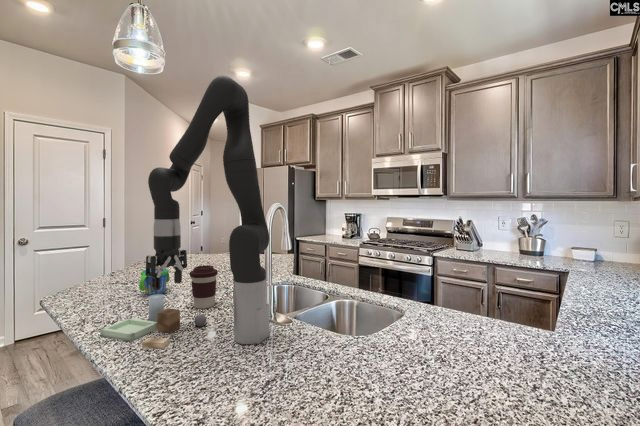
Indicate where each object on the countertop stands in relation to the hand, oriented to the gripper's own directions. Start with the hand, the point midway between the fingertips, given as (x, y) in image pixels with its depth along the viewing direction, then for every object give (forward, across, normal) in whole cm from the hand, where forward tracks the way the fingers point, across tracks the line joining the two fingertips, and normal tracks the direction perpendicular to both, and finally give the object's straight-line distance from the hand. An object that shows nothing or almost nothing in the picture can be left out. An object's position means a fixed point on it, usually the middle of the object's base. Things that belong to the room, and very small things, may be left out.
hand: (167, 286), depth 102 cm
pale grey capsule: (+14, +6, +11) cm, 19 cm away
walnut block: (+14, 0, 0) cm, 14 cm away
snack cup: (+14, +30, +36) cm, 49 cm away
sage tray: (+14, -5, +10) cm, 18 cm away
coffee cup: (+14, +23, +5) cm, 27 cm away
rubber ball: (+12, +6, -7) cm, 15 cm away
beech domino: (+14, -10, -5) cm, 18 cm away
